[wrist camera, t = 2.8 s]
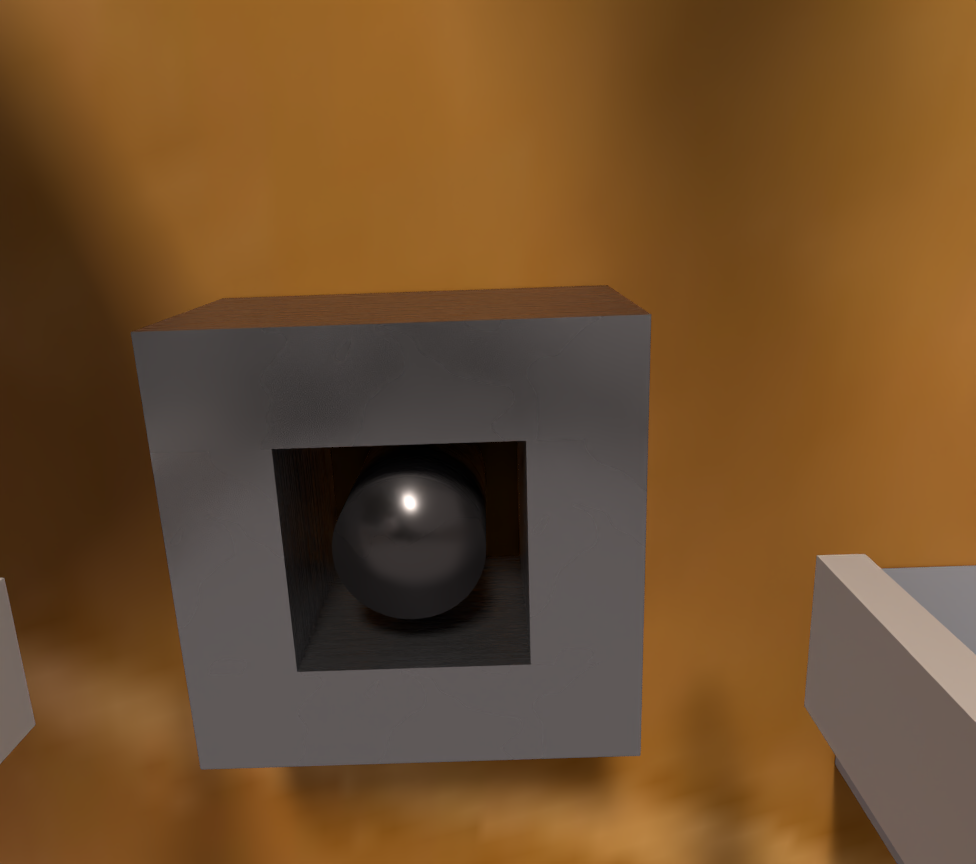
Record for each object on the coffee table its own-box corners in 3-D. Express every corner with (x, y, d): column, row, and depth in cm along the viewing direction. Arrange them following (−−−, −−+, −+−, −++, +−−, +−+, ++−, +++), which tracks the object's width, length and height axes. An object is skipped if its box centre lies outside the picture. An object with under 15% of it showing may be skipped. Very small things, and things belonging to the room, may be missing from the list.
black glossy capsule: (369, 531, 20) (338, 621, 16) (360, 418, 19) (325, 480, 15) (487, 527, 20) (489, 616, 16) (483, 413, 19) (483, 475, 15)
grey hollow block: (265, 639, 21) (200, 769, 16) (222, 298, 18) (130, 331, 14) (604, 628, 21) (640, 755, 16) (607, 285, 18) (650, 314, 14)
